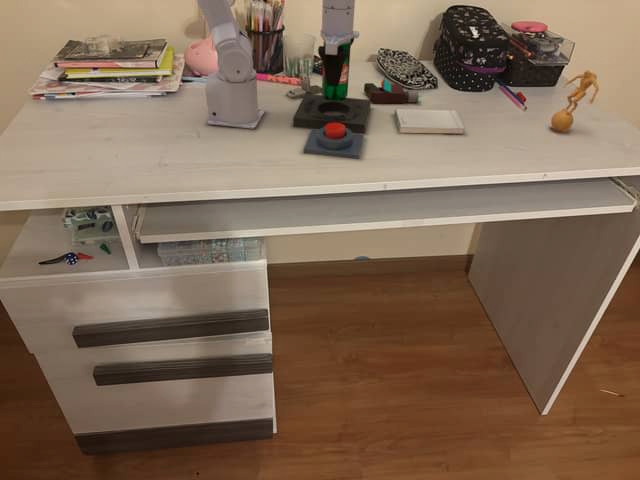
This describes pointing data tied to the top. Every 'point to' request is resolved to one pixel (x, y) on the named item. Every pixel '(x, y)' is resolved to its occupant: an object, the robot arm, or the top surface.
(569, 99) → the figurine
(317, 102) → the dock
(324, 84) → the soda can
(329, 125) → the power button
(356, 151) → the button box
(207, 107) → the robot arm
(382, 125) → the top surface
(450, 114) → the hard drive
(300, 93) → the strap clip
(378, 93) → the toy gun
